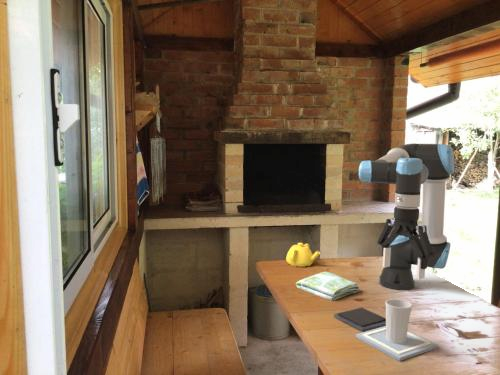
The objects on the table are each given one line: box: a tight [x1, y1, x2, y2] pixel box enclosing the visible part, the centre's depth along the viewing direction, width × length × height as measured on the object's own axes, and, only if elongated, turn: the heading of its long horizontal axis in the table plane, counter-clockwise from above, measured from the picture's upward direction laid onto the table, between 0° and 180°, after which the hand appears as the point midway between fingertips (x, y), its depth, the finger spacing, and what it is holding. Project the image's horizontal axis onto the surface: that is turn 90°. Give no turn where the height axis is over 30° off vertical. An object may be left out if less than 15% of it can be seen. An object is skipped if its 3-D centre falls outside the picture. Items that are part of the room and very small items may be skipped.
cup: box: [385, 298, 413, 344], centre depth 143 cm, size 8×8×12 cm
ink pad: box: [333, 307, 386, 333], centre depth 161 cm, size 14×14×2 cm
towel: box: [295, 271, 360, 301], centre depth 192 cm, size 18×21×5 cm
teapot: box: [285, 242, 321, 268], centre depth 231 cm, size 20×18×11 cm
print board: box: [354, 325, 439, 362], centre depth 144 cm, size 18×18×1 cm
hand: (402, 272), depth 144 cm, fingers open, 13 cm apart
